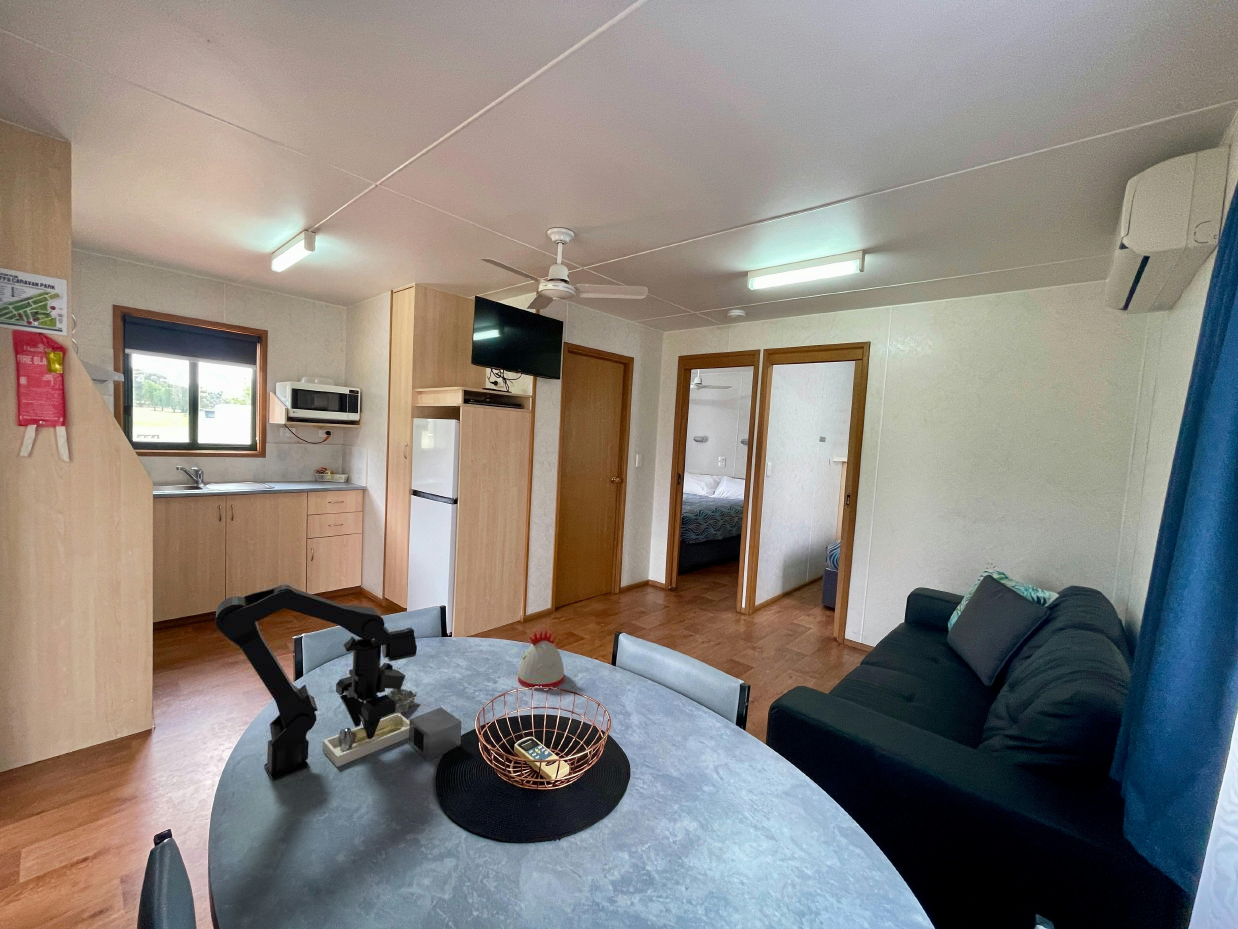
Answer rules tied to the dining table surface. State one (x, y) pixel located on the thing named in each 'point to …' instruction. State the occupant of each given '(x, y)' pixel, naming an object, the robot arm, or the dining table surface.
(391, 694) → the egg carton
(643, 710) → the dining table surface
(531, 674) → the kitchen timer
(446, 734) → the block
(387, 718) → the tray
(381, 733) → the pin
